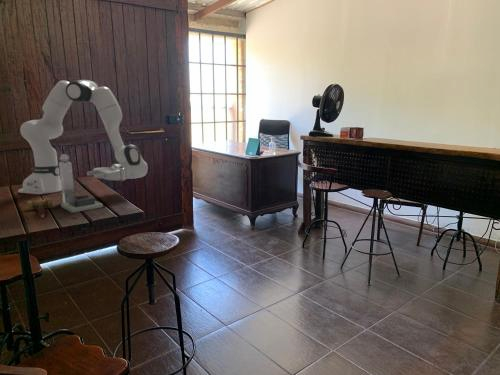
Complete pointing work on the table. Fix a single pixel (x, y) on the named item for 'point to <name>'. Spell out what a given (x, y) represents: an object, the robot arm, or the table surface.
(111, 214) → the table surface
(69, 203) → the keeper bracket
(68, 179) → the steel link
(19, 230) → the table surface
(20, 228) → the table surface
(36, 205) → the gavel
